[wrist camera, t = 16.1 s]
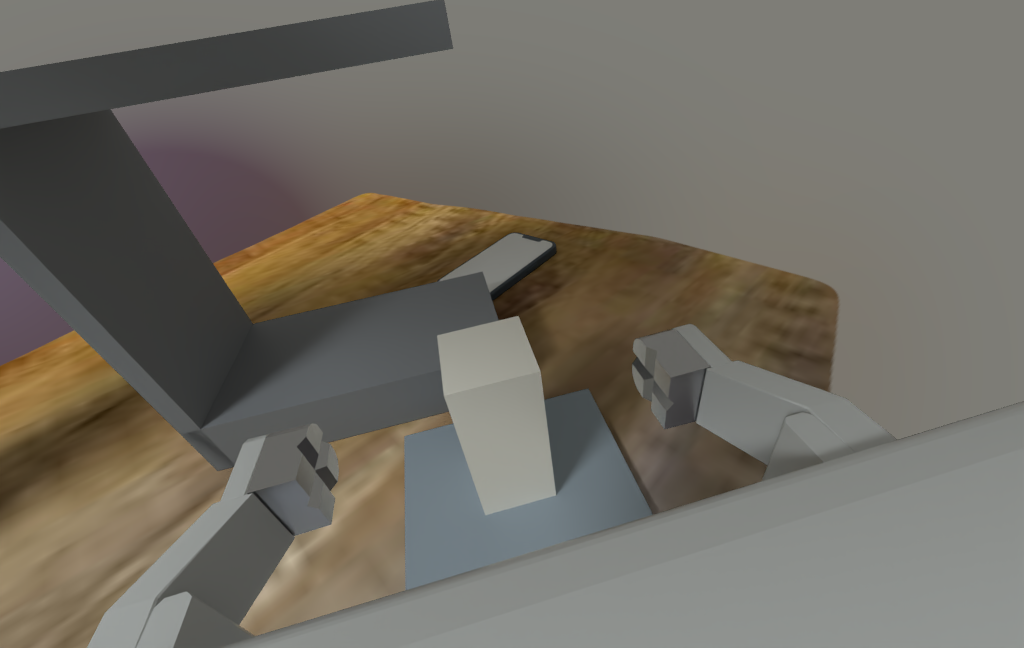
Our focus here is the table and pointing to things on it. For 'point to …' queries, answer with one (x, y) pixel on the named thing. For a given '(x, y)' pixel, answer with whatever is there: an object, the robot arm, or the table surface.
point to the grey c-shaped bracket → (184, 264)
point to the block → (498, 412)
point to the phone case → (506, 261)
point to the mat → (526, 528)
